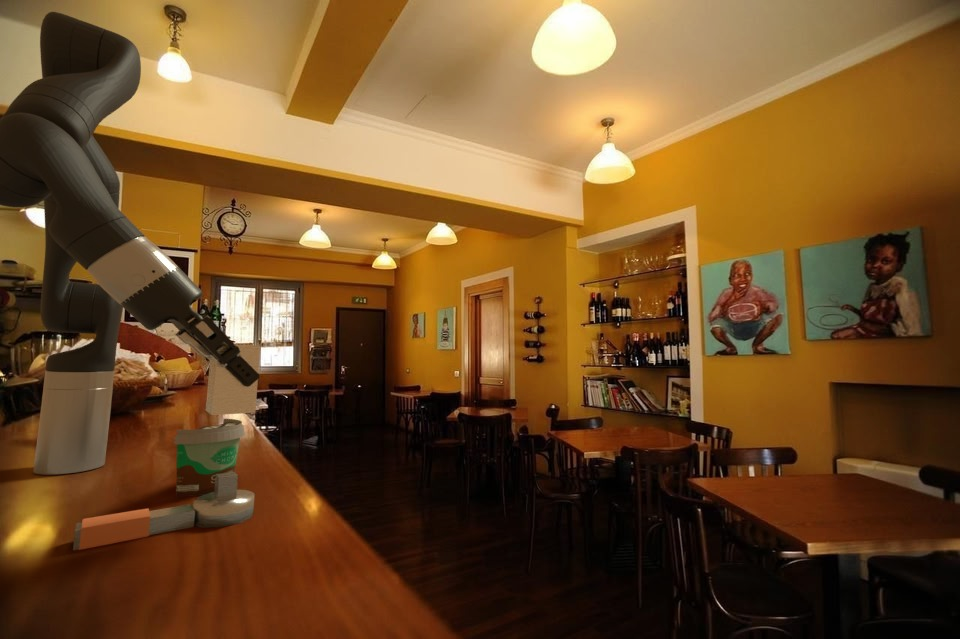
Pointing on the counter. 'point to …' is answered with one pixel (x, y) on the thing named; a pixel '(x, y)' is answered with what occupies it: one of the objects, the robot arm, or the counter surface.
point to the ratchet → (170, 516)
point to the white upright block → (232, 385)
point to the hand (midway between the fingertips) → (248, 380)
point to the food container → (206, 456)
